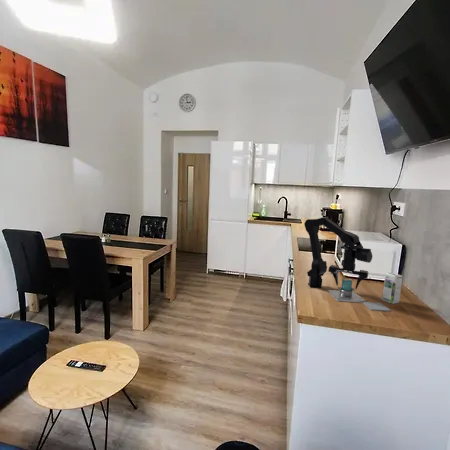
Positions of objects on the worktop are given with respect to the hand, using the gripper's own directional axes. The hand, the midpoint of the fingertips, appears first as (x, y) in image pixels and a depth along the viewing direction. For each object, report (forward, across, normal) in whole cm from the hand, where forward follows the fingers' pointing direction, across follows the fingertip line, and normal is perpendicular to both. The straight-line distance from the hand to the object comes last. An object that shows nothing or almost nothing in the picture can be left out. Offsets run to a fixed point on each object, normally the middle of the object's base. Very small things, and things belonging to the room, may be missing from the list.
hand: (346, 287), depth 149 cm
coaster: (+5, -15, +5) cm, 17 cm away
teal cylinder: (+1, 0, 0) cm, 1 cm away
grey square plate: (+5, 0, 0) cm, 5 cm away
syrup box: (+5, -21, -8) cm, 23 cm away
